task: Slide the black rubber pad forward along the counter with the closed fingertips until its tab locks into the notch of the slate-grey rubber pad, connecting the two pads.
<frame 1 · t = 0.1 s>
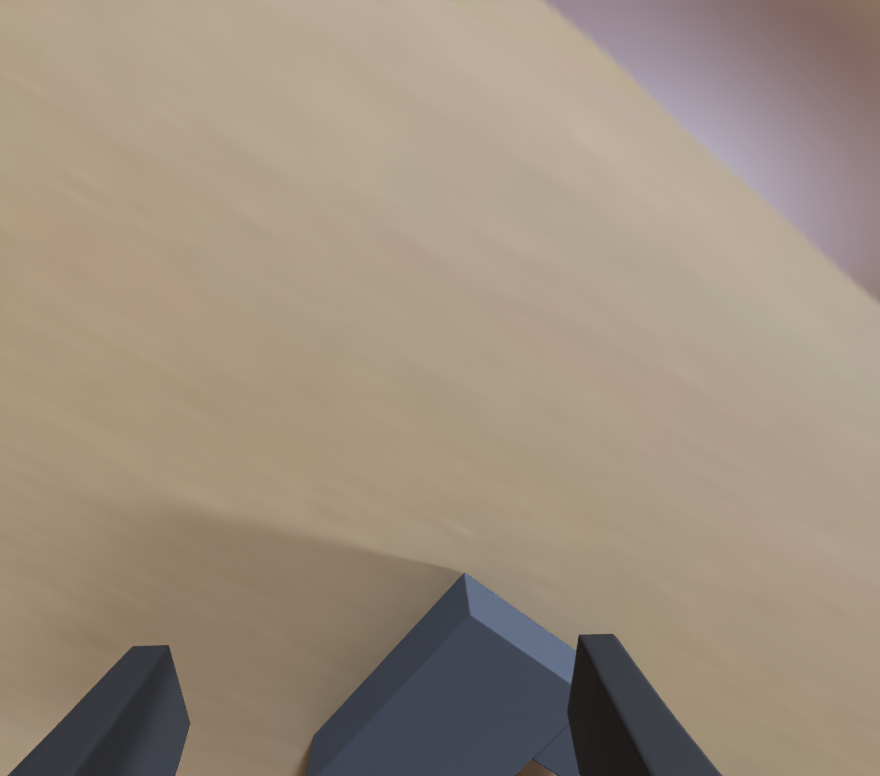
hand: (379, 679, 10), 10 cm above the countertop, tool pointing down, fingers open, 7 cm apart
grey pad: (461, 705, 23), on the countertop
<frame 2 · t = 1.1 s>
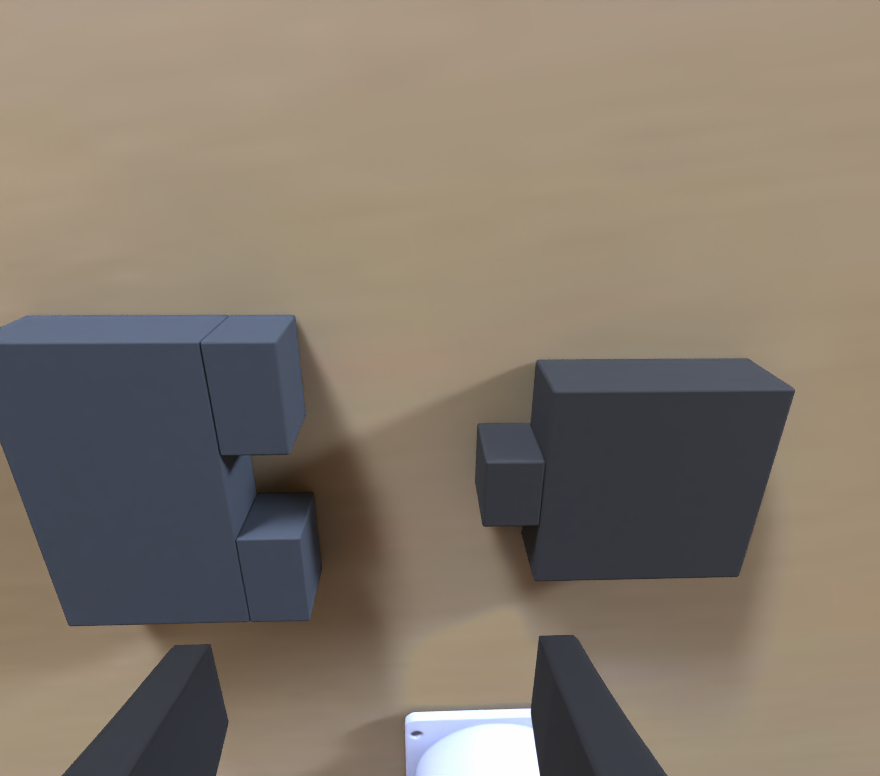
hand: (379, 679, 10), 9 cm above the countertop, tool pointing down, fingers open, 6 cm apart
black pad: (626, 451, 19), on the countertop
grey pad: (191, 456, 18), on the countertop
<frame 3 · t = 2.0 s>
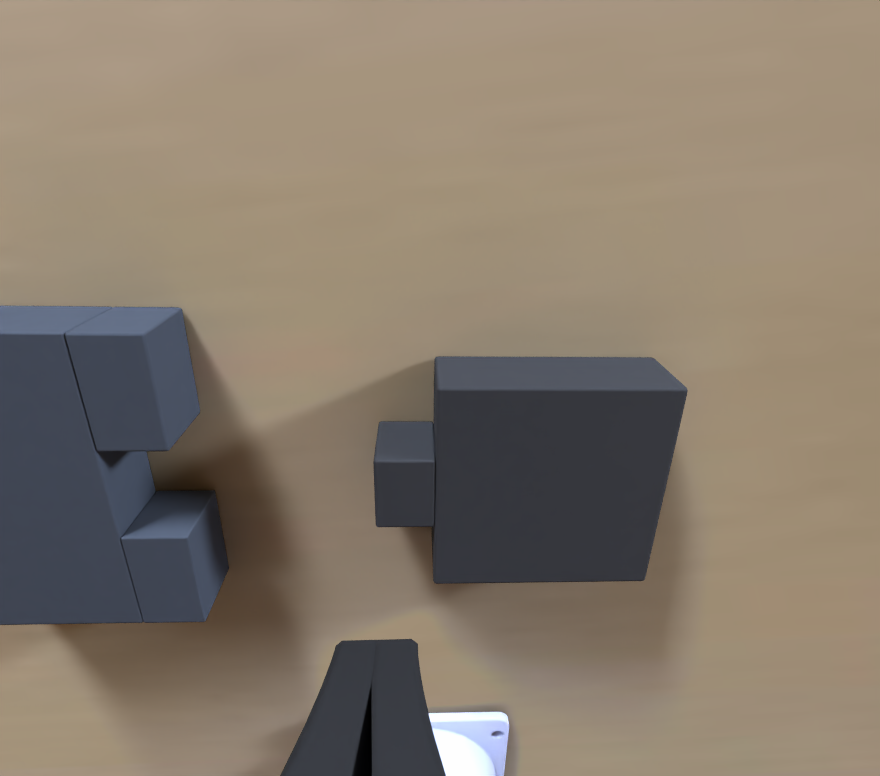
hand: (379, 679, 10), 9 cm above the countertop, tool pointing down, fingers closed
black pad: (535, 451, 19), on the countertop
grey pad: (85, 452, 18), on the countertop
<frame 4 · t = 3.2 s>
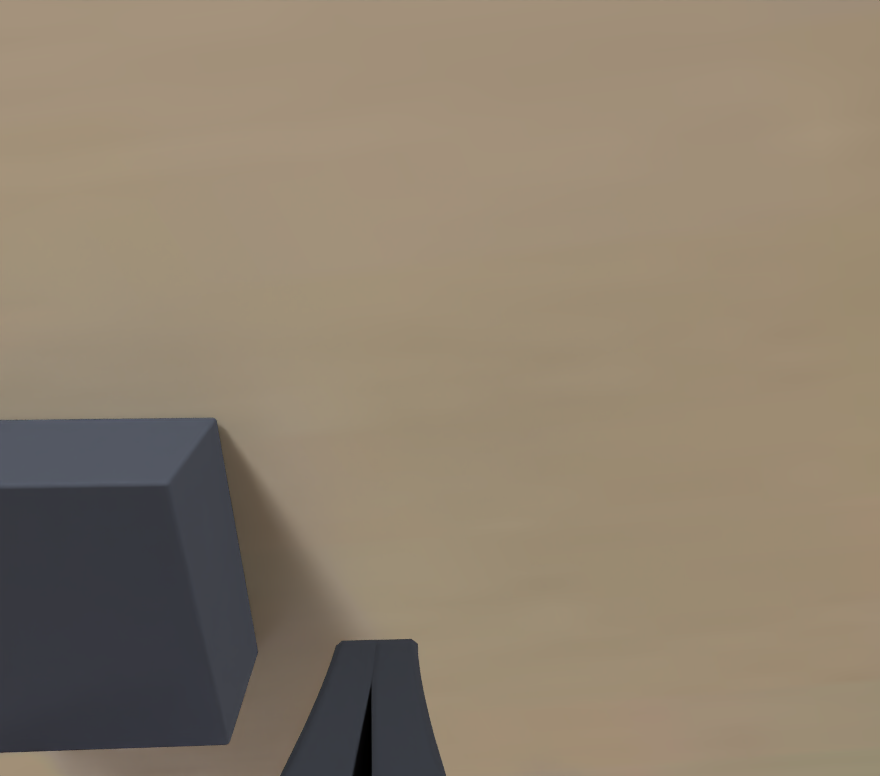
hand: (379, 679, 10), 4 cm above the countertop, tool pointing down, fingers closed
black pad: (90, 549, 13), on the countertop
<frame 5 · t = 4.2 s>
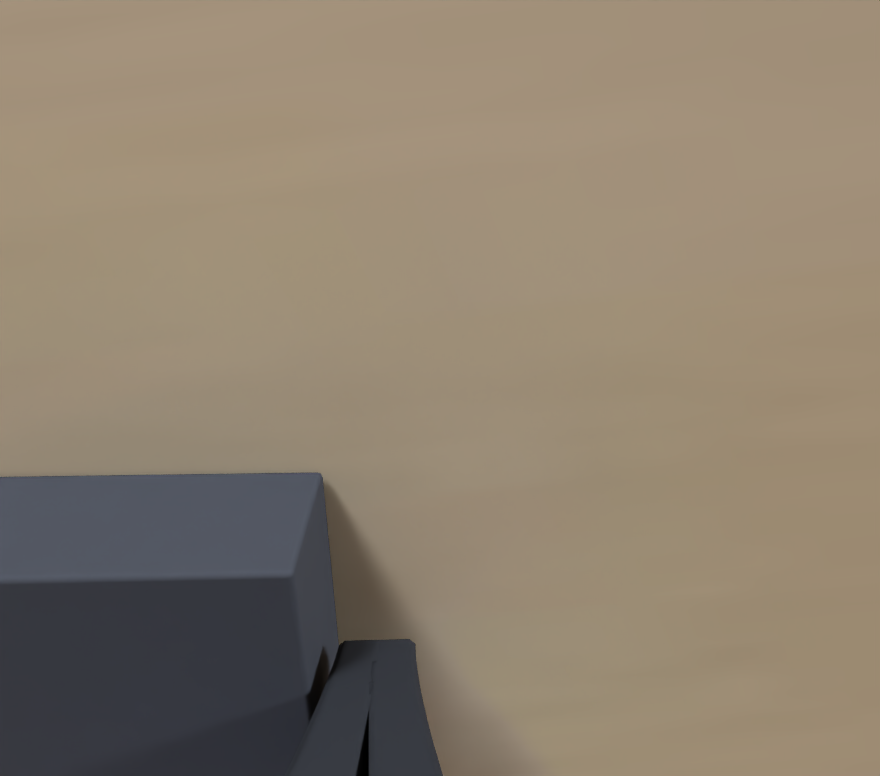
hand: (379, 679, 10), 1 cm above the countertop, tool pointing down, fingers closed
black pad: (160, 621, 11), on the countertop, touching gripper
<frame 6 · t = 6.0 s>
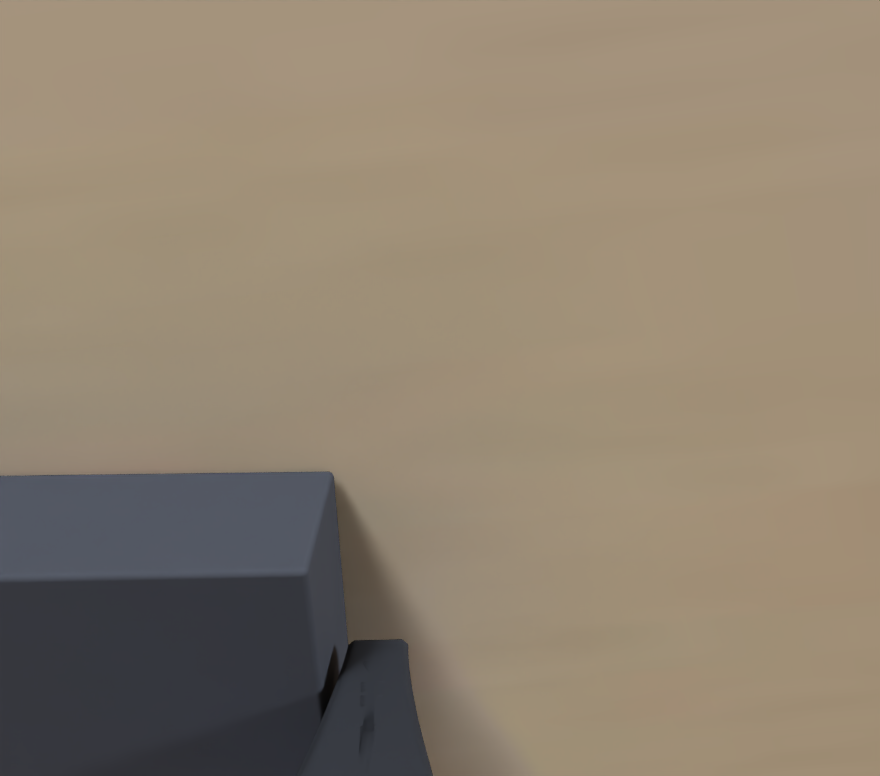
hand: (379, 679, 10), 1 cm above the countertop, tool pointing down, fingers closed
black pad: (170, 620, 11), on the countertop, touching grey pad, gripper
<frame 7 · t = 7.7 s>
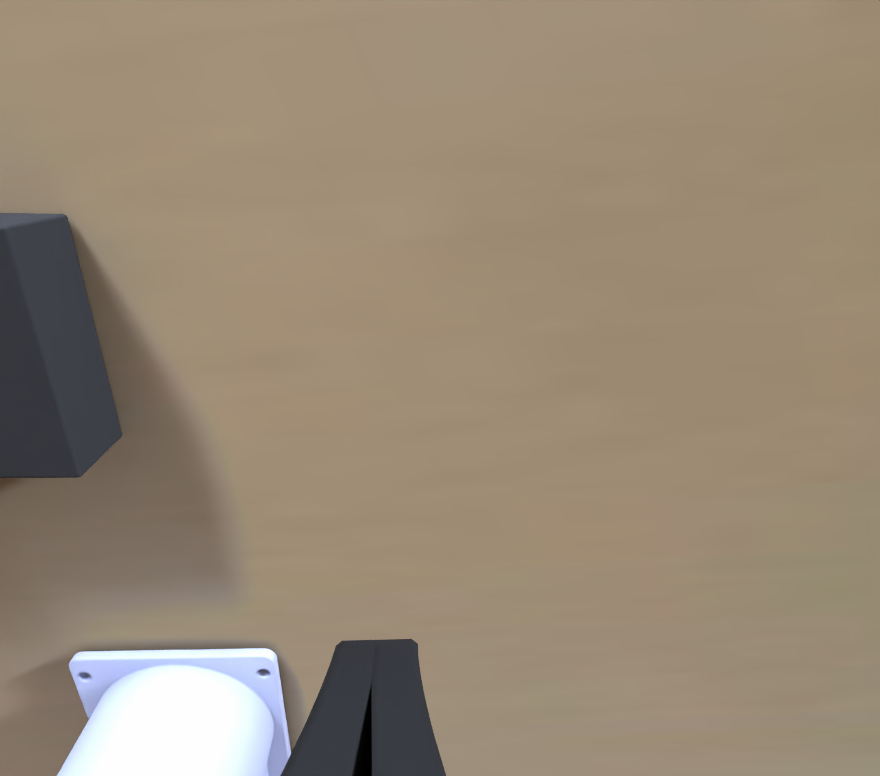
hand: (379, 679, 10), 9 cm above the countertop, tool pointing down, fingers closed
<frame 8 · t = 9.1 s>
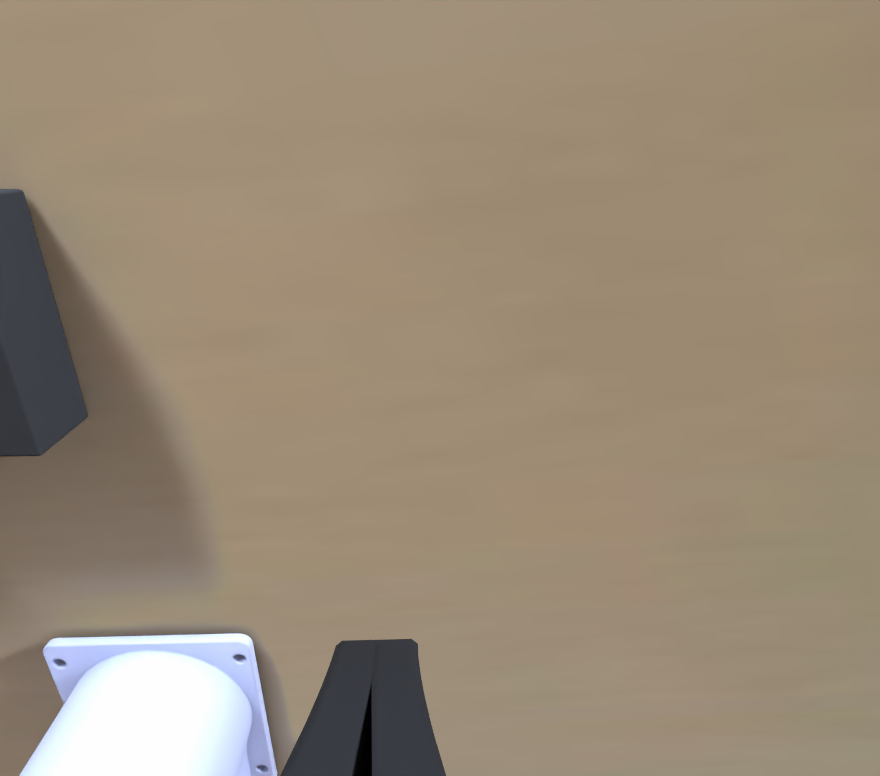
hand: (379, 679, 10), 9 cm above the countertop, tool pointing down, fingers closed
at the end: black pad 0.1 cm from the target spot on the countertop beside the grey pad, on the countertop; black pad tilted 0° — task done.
